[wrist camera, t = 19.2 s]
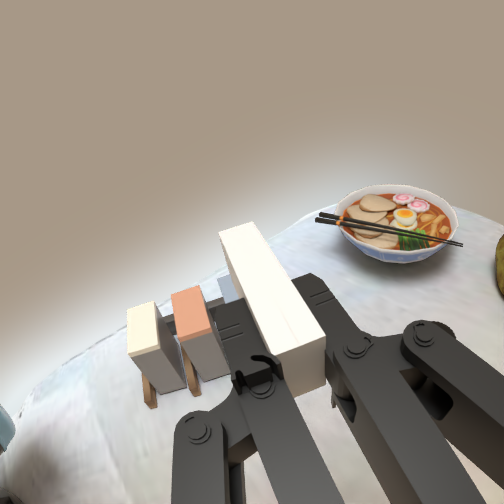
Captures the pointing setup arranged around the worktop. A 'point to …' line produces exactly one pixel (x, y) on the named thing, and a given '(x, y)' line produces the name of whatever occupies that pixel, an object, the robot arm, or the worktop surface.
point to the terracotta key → (199, 334)
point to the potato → (500, 263)
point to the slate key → (227, 289)
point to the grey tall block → (154, 348)
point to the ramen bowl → (395, 222)
